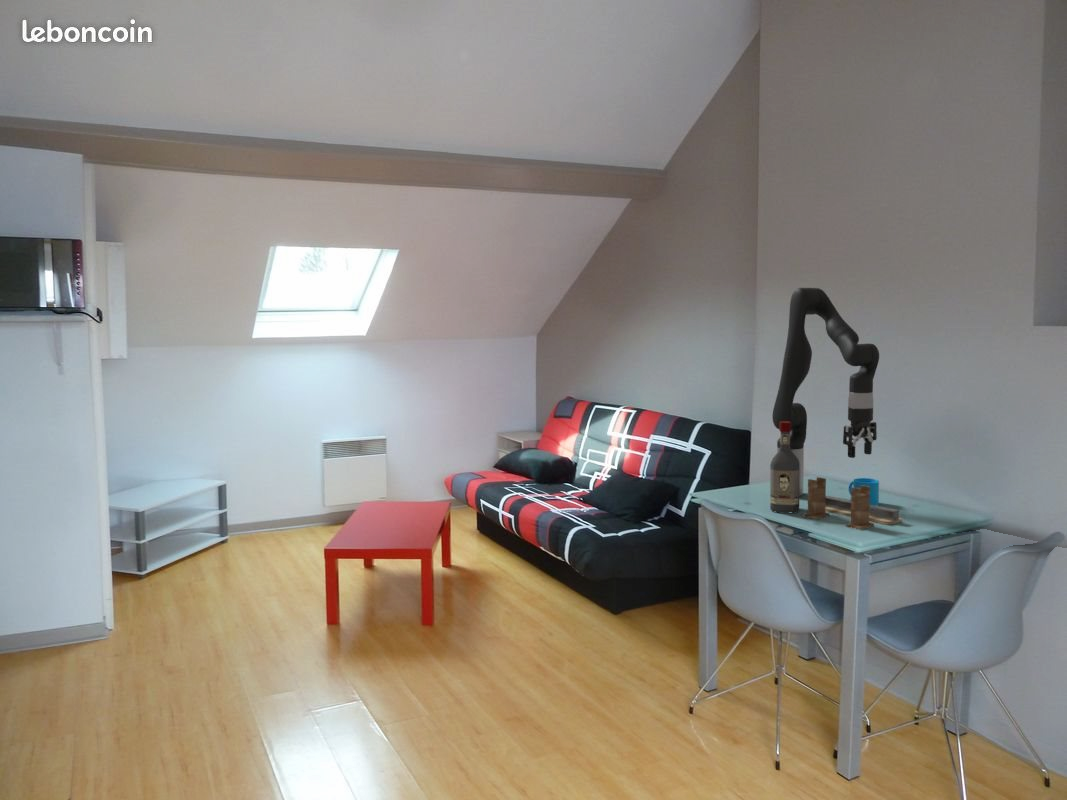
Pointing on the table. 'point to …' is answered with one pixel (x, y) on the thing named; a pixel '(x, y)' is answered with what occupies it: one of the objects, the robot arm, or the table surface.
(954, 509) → the table surface
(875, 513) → the rail
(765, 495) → the table surface
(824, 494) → the post
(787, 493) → the liquor
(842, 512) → the mat
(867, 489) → the post
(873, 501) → the mug
